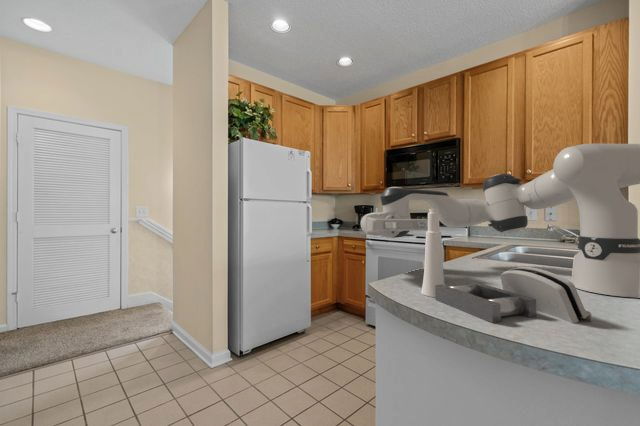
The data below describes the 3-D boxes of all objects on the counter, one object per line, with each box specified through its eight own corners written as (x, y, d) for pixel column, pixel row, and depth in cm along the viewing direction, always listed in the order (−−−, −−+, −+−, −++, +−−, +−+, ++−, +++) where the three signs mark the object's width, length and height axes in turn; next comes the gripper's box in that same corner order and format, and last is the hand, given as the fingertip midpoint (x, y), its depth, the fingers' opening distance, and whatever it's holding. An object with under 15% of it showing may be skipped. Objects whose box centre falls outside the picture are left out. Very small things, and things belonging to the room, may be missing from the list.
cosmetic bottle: (449, 298, 73) (449, 208, 73) (424, 297, 74) (424, 208, 74) (442, 291, 79) (442, 208, 79) (418, 290, 80) (418, 208, 80)
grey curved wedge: (595, 321, 57) (580, 273, 57) (576, 331, 57) (561, 282, 56) (521, 297, 74) (510, 259, 73) (506, 304, 73) (494, 266, 72)
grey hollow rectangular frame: (473, 295, 75) (473, 281, 75) (536, 316, 60) (536, 299, 60) (435, 299, 72) (435, 285, 72) (492, 323, 57) (492, 304, 57)
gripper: (414, 233, 104) (441, 235, 91) (360, 234, 98) (381, 236, 85) (414, 215, 105) (440, 214, 91) (360, 215, 99) (381, 214, 85)
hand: (411, 225), depth 88 cm, fingers open, 8 cm apart
